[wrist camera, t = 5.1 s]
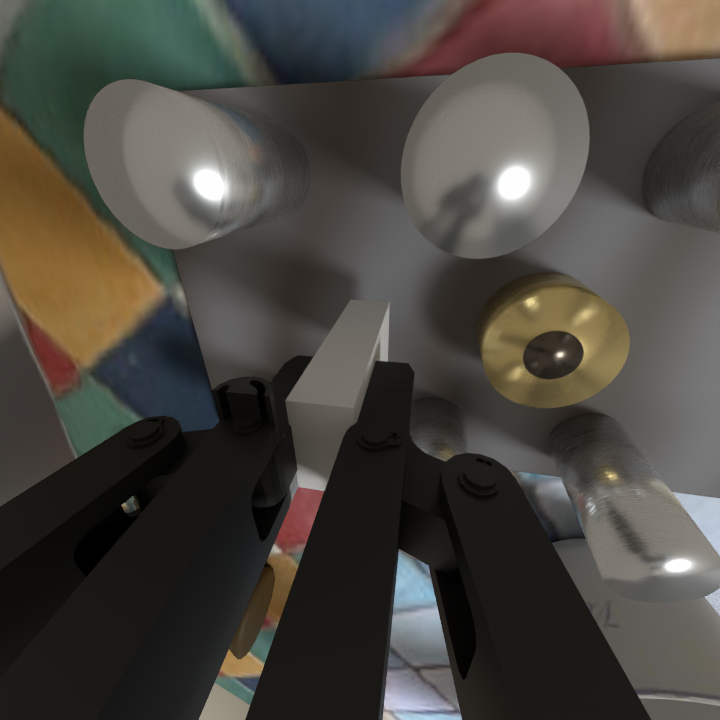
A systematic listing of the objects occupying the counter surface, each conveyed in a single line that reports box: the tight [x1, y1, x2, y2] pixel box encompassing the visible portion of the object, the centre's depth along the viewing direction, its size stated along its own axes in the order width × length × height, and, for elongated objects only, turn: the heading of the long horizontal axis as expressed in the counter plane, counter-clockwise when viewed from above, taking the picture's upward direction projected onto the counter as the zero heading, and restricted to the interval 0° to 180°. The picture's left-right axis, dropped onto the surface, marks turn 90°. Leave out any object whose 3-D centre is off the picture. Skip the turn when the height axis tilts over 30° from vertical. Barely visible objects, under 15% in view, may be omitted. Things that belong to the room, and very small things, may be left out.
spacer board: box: [173, 58, 720, 498], centre depth 13 cm, size 38×16×1 cm, turn 91°
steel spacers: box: [84, 53, 720, 604], centre depth 11 cm, size 17×14×6 cm
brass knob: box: [477, 272, 630, 408], centre depth 12 cm, size 4×4×2 cm
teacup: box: [552, 538, 720, 720], centre depth 18 cm, size 14×11×8 cm
